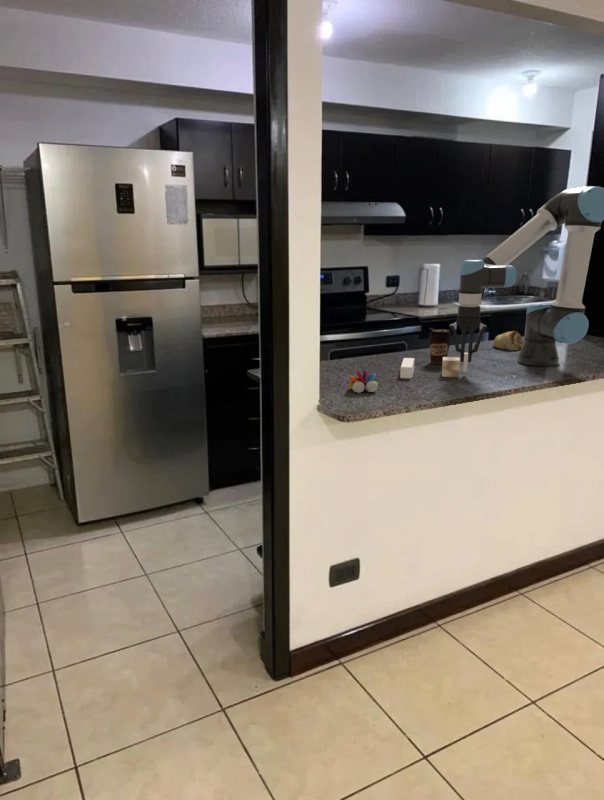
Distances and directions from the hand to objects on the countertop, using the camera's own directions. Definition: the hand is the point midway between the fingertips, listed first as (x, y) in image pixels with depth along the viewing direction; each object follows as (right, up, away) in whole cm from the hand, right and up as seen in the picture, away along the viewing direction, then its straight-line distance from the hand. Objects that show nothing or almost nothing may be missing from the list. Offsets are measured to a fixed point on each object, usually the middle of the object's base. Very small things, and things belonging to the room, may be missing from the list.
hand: (465, 371), depth 214 cm
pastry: (+33, +12, +50) cm, 61 cm away
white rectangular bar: (-20, -1, +5) cm, 21 cm away
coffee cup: (-5, +4, +21) cm, 22 cm away
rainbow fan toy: (-38, -8, -18) cm, 43 cm away
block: (-5, -1, +2) cm, 5 cm away
